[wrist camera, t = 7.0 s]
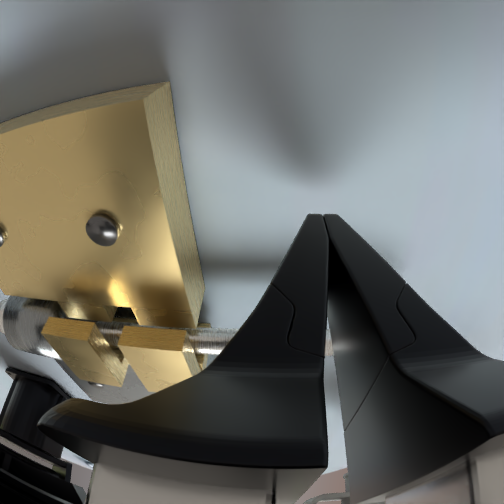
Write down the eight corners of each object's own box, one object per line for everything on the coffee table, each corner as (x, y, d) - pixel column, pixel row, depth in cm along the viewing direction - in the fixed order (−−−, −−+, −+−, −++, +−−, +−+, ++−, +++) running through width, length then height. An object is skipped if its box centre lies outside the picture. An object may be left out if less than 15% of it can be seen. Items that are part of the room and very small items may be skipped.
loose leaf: (53, 311, 15) (27, 366, 12) (-31, 135, 8) (-92, 184, 6) (213, 324, 14) (201, 397, 11) (169, 81, 8) (111, 123, 5)
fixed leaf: (85, 373, 20) (71, 415, 17) (11, 268, 13) (-22, 319, 10) (347, 390, 18) (351, 441, 16) (393, 274, 12) (416, 350, 9)
